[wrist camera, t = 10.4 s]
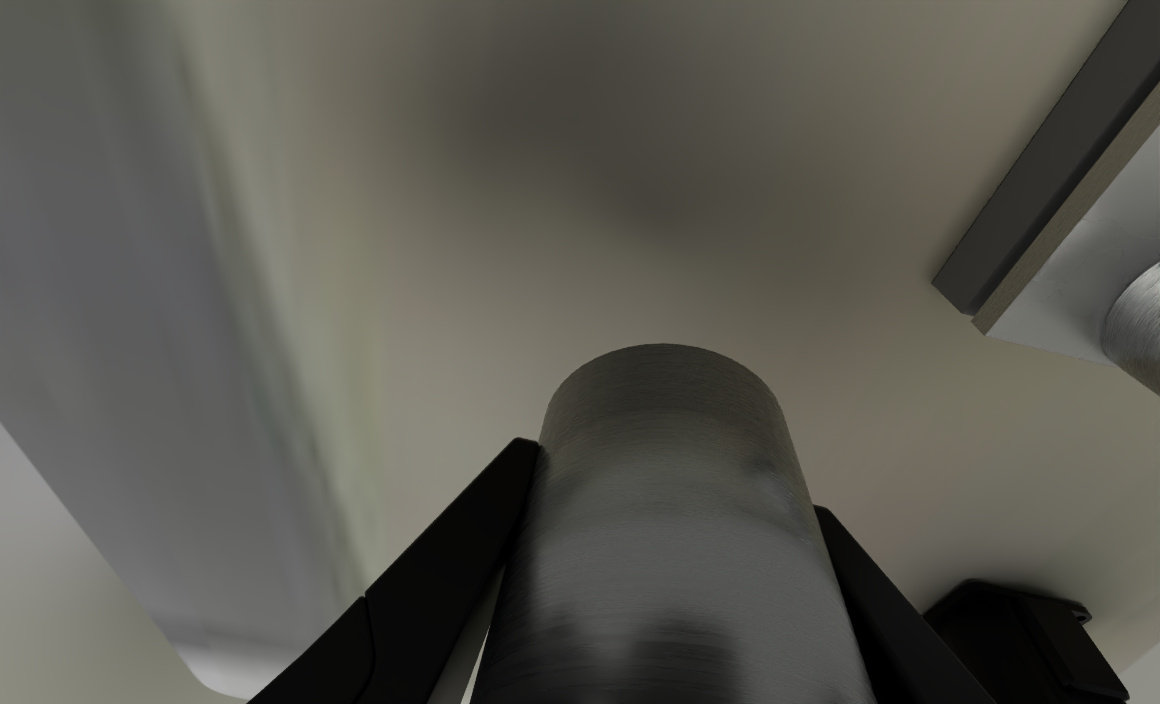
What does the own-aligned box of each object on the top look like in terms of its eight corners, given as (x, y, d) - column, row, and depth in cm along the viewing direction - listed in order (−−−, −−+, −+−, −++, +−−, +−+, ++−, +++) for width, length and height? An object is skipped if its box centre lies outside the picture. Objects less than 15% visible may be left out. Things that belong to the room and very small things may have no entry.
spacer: (732, 537, 11) (784, 873, 6) (529, 491, 10) (451, 800, 6) (832, 378, 8) (1022, 762, 4) (564, 317, 8) (473, 641, 4)
